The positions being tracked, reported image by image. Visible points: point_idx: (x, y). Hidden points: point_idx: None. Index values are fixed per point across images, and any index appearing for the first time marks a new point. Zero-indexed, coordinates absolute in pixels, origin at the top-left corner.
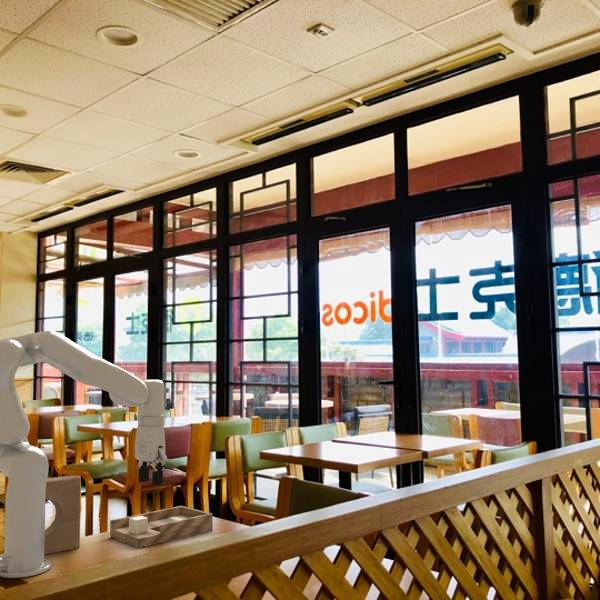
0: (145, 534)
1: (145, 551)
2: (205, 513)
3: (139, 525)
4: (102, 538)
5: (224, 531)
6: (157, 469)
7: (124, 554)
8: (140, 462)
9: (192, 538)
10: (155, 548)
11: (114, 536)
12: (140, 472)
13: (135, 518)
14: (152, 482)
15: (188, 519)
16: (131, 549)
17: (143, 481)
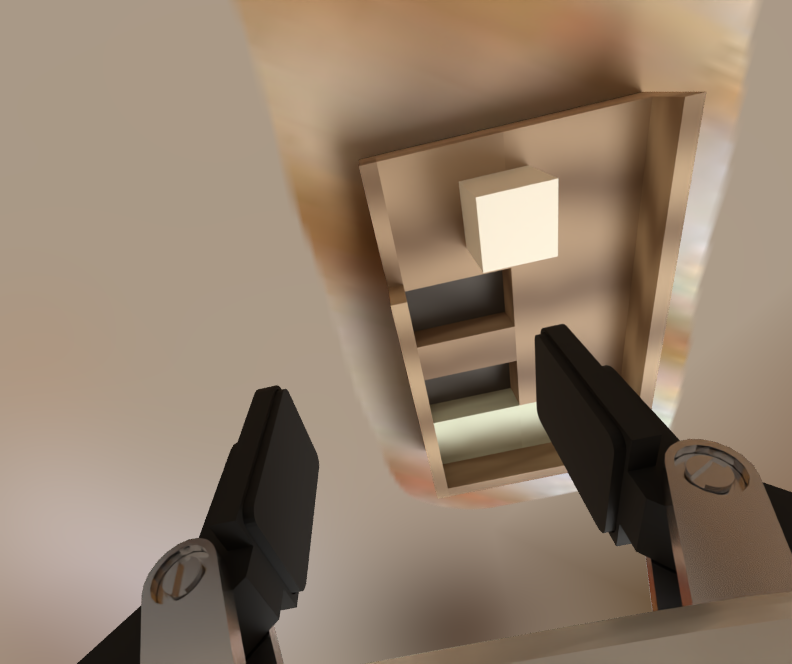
0: (422, 220)
1: (287, 165)
2: (463, 484)
3: (470, 211)
4: (655, 43)
5: (391, 471)
6: (166, 594)
7: (286, 47)
8: (709, 556)
9: (372, 377)
10: (313, 220)
11: (601, 102)
12: (586, 405)
13: (521, 209)
14: (264, 402)
15: (418, 418)
16: (357, 115)
17: (535, 364)
